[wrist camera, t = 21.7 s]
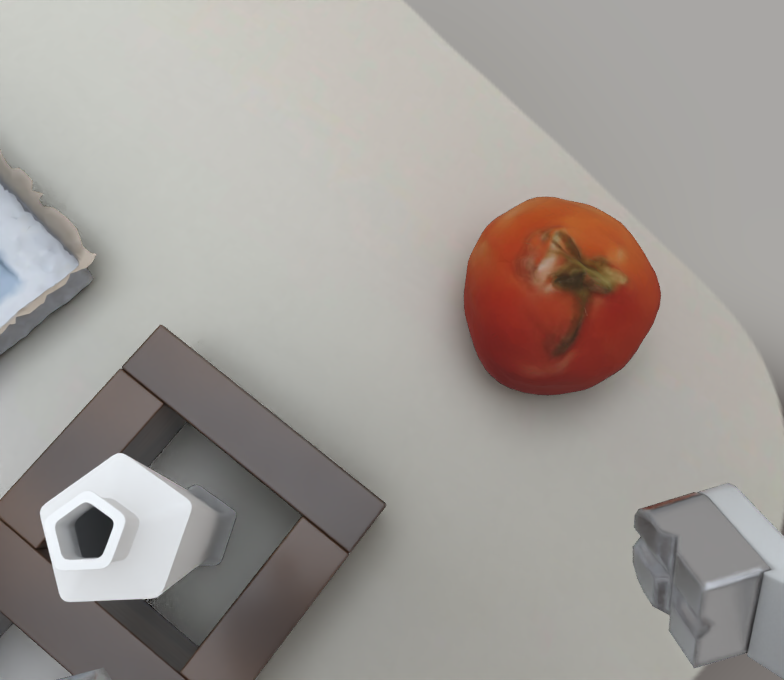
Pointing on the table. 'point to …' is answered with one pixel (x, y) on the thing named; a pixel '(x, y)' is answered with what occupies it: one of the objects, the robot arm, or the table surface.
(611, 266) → the tomato
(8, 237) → the picture frame
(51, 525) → the perfume bottle
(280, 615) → the rack
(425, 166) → the table surface
